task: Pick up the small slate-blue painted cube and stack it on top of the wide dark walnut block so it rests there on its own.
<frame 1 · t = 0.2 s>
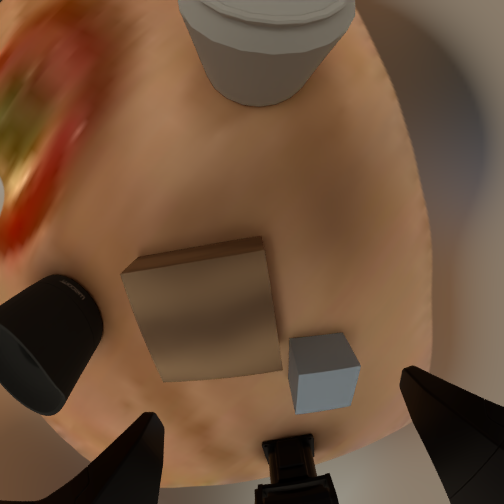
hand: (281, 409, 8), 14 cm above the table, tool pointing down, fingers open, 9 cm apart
pen holder: (69, 312, 23), on the table
can: (256, 65, 17), on the table
walnut block: (210, 302, 23), on the table
cube: (314, 356, 24), on the table
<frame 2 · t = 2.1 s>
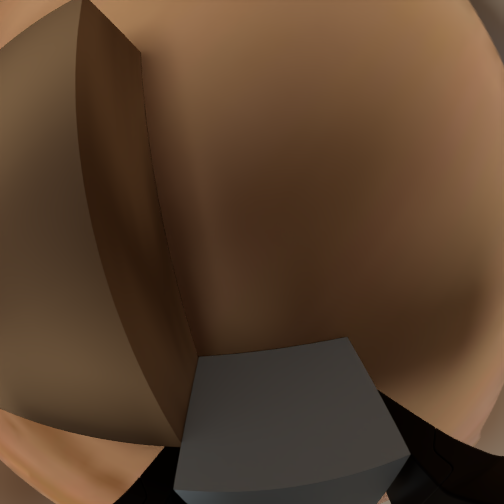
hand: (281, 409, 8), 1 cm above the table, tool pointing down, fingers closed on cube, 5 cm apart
walnut block: (43, 240, 8), on the table
cube: (279, 399, 9), on the table, touching gripper
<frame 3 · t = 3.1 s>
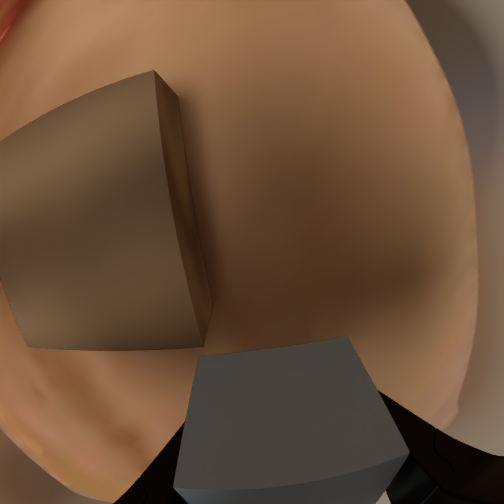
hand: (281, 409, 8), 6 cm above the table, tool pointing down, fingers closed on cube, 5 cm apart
walnut block: (101, 220, 12), on the table
cube: (278, 397, 9), point 5 cm above the table, touching gripper
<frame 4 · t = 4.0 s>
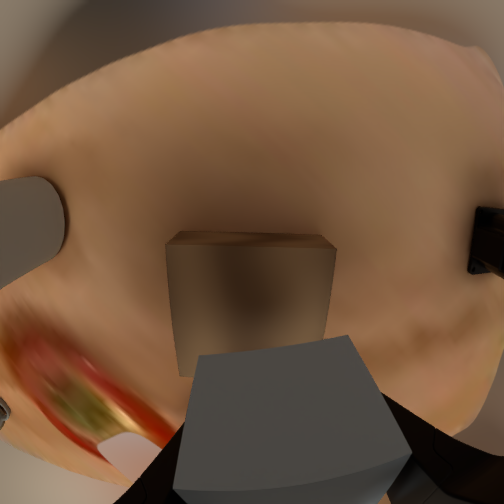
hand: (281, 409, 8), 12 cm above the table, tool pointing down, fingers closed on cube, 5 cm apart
can: (42, 217, 19), on the table
walnut block: (249, 296, 21), on the table
cube: (279, 397, 9), point 11 cm above the table, touching gripper
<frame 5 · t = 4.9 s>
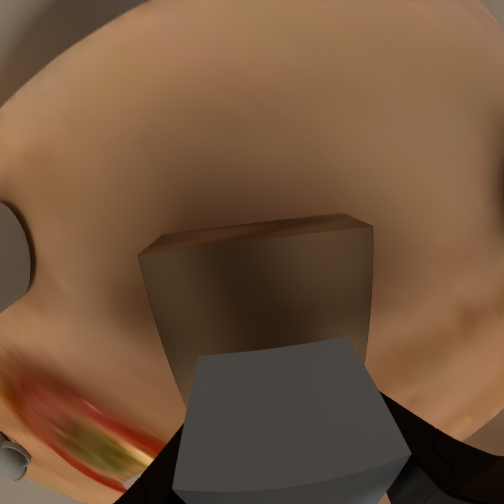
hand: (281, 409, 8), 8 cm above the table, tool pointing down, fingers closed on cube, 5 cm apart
can: (8, 248, 14), on the table
walnut block: (262, 305, 16), on the table
cube: (279, 398, 9), point 7 cm above the table, touching gripper
ceramic mug: (13, 444, 24), on the table
when the fingers open (6 cm above the table, at t = 5.5 s): cube drops 2 cm, resting on walnut block.
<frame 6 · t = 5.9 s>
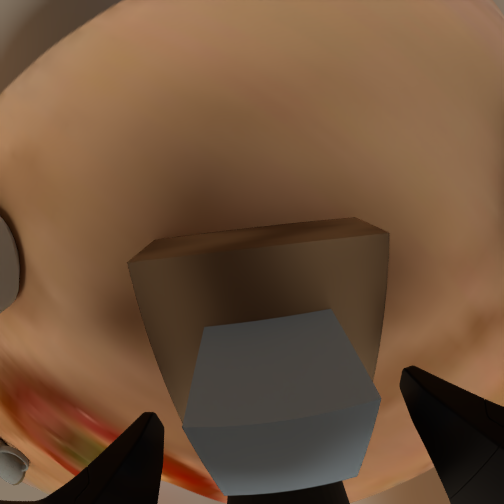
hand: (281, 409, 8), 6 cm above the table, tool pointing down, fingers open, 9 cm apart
pen holder: (280, 455, 19), on the table
walnut block: (264, 315, 15), on the table, touching cube
cube: (274, 367, 11), point 4 cm above the table, touching walnut block
ceramic mug: (11, 448, 23), on the table
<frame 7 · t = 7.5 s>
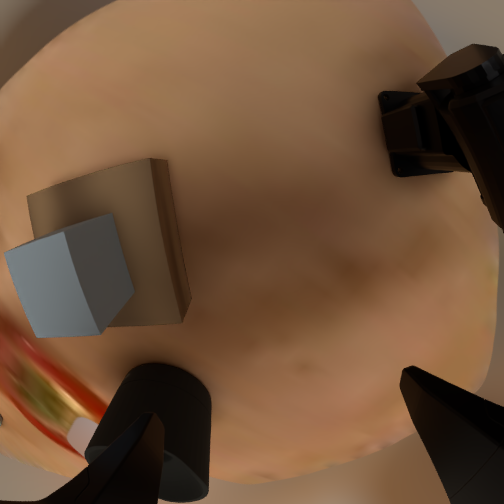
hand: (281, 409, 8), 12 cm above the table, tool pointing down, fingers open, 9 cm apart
pen holder: (167, 393, 23), on the table
walnut block: (117, 240, 19), on the table, touching cube
cube: (90, 260, 15), point 4 cm above the table, touching walnut block
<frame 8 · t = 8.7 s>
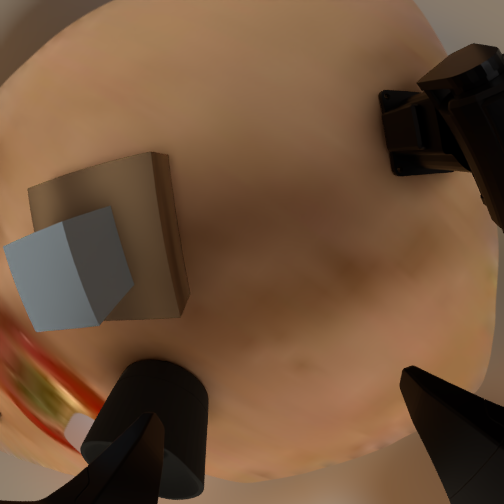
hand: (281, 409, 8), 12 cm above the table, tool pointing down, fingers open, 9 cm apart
pen holder: (164, 390, 23), on the table
walnut block: (117, 234, 19), on the table, touching cube
cube: (90, 254, 15), point 4 cm above the table, touching walnut block
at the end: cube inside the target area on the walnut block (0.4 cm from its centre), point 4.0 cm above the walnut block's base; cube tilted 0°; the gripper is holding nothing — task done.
